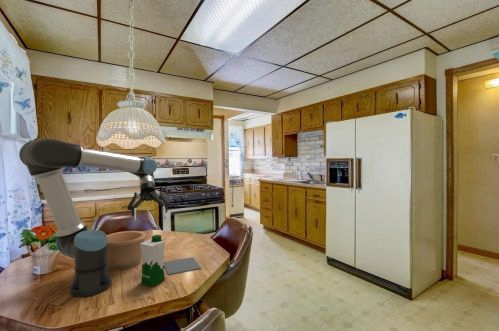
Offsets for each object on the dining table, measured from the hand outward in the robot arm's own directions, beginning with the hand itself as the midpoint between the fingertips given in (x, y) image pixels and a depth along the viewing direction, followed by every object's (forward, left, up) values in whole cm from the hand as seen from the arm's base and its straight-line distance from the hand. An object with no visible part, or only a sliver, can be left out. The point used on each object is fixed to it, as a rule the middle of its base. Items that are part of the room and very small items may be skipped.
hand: (150, 219), depth 125 cm
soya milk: (0, -13, -26) cm, 29 cm away
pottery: (-12, +15, -26) cm, 32 cm away
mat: (+15, -1, -25) cm, 29 cm away
